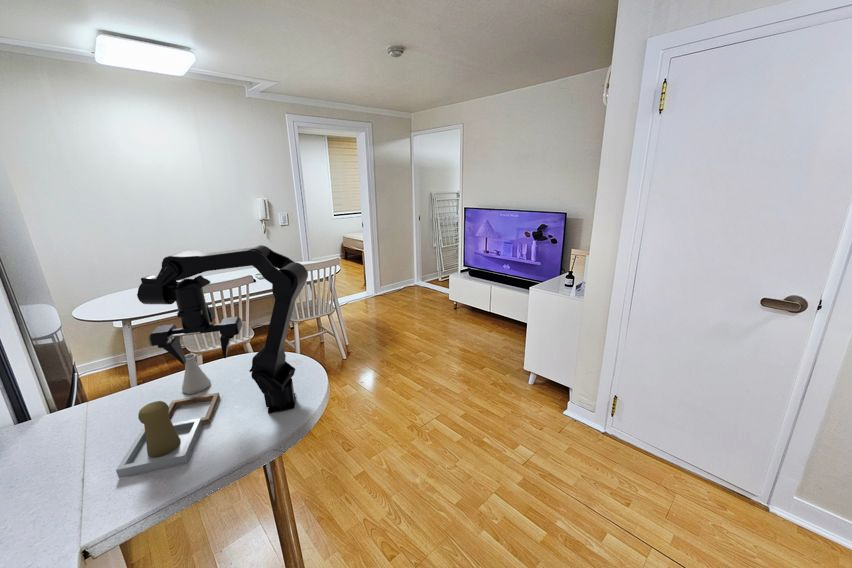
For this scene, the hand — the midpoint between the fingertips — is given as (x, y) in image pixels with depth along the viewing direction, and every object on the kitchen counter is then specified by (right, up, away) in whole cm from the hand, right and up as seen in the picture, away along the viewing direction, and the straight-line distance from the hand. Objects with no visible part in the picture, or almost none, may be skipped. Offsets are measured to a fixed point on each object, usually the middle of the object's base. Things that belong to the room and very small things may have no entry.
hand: (205, 360), depth 88 cm
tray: (-2, -17, -11) cm, 21 cm away
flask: (-10, -10, +11) cm, 18 cm away
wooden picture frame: (-4, -14, 0) cm, 14 cm away
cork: (-2, -17, -11) cm, 20 cm away
